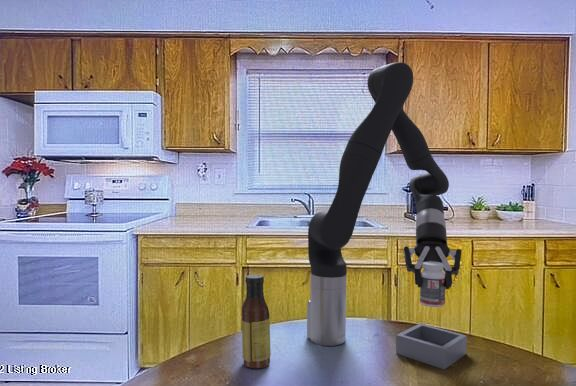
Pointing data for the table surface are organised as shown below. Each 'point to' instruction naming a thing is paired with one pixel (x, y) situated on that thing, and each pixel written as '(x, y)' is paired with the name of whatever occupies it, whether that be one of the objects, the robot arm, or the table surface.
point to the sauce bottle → (255, 325)
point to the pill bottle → (432, 284)
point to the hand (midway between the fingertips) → (433, 286)
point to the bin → (431, 345)
